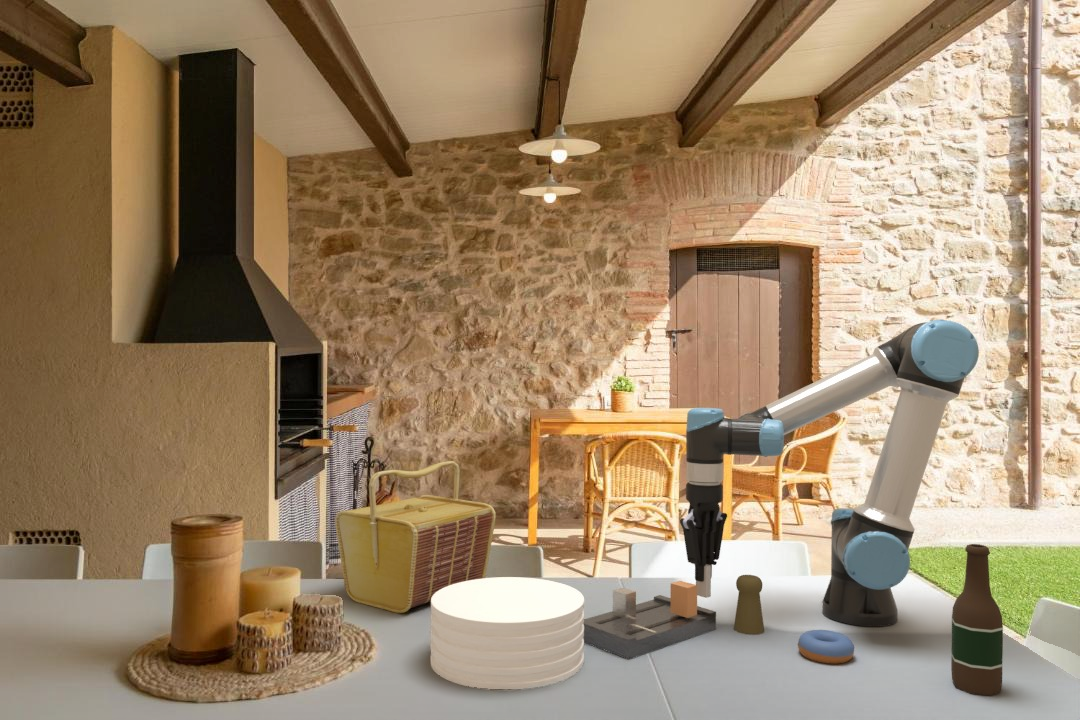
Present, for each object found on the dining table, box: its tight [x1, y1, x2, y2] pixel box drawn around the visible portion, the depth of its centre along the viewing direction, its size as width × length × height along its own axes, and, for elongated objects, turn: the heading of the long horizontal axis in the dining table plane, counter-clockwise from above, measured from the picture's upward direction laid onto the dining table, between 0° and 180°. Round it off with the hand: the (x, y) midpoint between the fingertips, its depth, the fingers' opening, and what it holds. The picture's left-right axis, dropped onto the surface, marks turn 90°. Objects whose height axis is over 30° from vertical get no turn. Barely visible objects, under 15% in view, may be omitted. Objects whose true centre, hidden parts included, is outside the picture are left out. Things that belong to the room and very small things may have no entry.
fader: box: [670, 580, 698, 618], centre depth 166 cm, size 4×3×6 cm
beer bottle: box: [950, 543, 1004, 697], centre depth 139 cm, size 8×8×24 cm
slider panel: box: [583, 587, 717, 660], centre depth 165 cm, size 15×26×8 cm, turn 131°
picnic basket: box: [334, 460, 497, 614], centre depth 190 cm, size 29×26×30 cm
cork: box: [733, 574, 765, 636], centre depth 167 cm, size 6×6×11 cm
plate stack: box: [430, 576, 585, 690], centre depth 150 cm, size 28×28×12 cm
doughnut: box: [797, 629, 855, 665], centre depth 153 cm, size 10×10×5 cm
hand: (703, 595), depth 170 cm, fingers closed
